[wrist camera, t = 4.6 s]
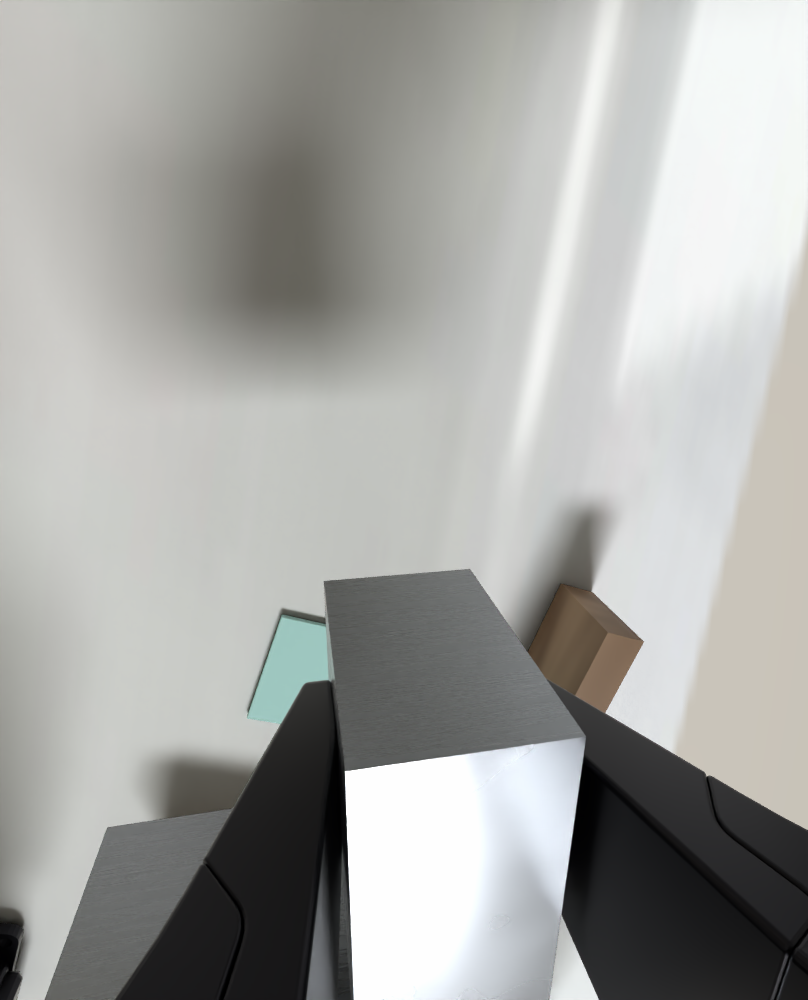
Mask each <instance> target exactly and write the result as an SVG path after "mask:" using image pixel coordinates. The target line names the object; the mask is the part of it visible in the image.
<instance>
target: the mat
mask: <svg viewBox="0 0 808 1000" xmlns="http://www.w3.org/2000/svg"><path fill="white" fill-rule="evenodd" d="M321 680H328V660H327V638H326V624H323V623H318V622H314V621H309V620H305V619H300V618H296V617H291V616H287V615H282V616H281V619H280V621H279V624H278V627H277V630H276V633H275V636H274V639H273V642H272V645H271V648H270V651H269V654H268V657H267V660H266V662H265V665H264V668H263V671H262V674H261V677H260V680H259V683H258V686H257V689H256V692H255V695H254V698H253V700H252V703H251V706H250V709H249V712H248V716H247V718H248V719H254V720H260V721H266V722H272V723H278V724H281V723H282V721H283V719H284V717H285V716H286V714H287V712H288V710H289V709H290V707H291V705H292V703H293V702H294V700H295V698H296V696H297V695H298V693H299V691H300V689H301V688H302V686H303V685H304V684H305V683H307V682H313V681H321Z"/></svg>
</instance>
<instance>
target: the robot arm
mask: <svg viewBox="0 0 808 1000" xmlns="http://www.w3.org/2000/svg"><path fill="white" fill-rule="evenodd" d="M547 681H548V682H549V684H550V685H551V687H552V688H553V690H554V691H555V692H556V694H557V695H558V697H559V698H560V700H561V701H562V702H563V704H564V705H565V707H566V708H567V710H568V711H569V713H570V714H571V715H572V717H573V718H574V720H575V721H576V723H577V724H578V726H579V727H580V728H581V730H582V731H583V733H584V734H585V736H586V741H585V749H584V756H583V763H582V770H581V777H580V784H579V791H578V798H577V805H576V813H575V820H574V827H573V834H572V841H571V848H570V855H569V862H568V869H567V877H566V884H565V891H564V898H563V905H562V912H561V915H562V917H563V919H564V922H565V924H566V926H567V928H568V931H569V933H570V935H571V937H572V940H573V942H574V944H575V946H576V949H577V951H578V953H579V955H580V958H581V960H582V962H583V964H584V967H585V969H586V971H587V974H588V976H589V978H590V980H591V983H592V985H593V987H594V989H595V992H596V994H597V996H598V998H599V1000H808V830H806V829H804V828H802V827H801V826H799V825H797V824H795V823H793V822H791V821H789V820H787V819H785V818H783V817H782V816H780V815H778V814H776V813H774V812H773V811H771V810H769V809H768V808H766V807H764V806H762V805H761V804H759V803H757V802H755V801H753V800H752V799H750V798H748V797H746V796H745V795H743V794H741V793H739V792H738V791H736V790H734V789H733V788H731V787H729V786H728V785H726V784H724V783H722V782H721V781H719V780H717V779H715V778H714V777H712V776H707V777H706V774H705V772H703V771H702V770H700V769H698V768H697V767H695V766H693V765H692V764H690V763H688V762H686V761H685V760H683V759H682V758H680V757H678V756H677V755H675V754H673V753H671V752H670V751H668V750H666V749H665V748H663V747H661V746H660V745H658V744H656V743H655V742H653V741H651V740H649V739H648V738H646V737H644V736H643V735H641V734H639V733H638V732H636V731H634V730H633V729H631V728H629V727H628V726H626V725H624V724H622V723H621V722H619V721H617V720H616V719H614V718H612V717H611V716H609V715H607V714H606V713H604V712H602V711H600V710H599V709H597V708H595V707H594V706H592V705H590V704H589V703H587V702H585V701H584V700H582V699H580V698H579V697H577V696H575V695H573V694H572V693H570V692H568V691H567V690H565V689H563V688H562V687H560V686H558V685H557V684H555V683H553V682H551V681H550V680H548V679H547ZM341 875H342V830H341V808H340V786H339V765H338V743H337V728H336V719H335V711H334V703H333V694H332V686H331V682H330V681H329V680H321V681H313V682H307V683H305V684H304V685H303V686H302V688H301V689H300V691H299V693H298V695H297V696H296V698H295V700H294V702H293V703H292V705H291V707H290V709H289V710H288V712H287V714H286V716H285V717H284V719H283V721H282V723H281V724H280V726H279V728H278V730H277V731H276V733H275V735H274V737H273V738H272V740H271V742H270V744H269V745H268V747H267V749H266V751H265V752H264V754H263V756H262V758H261V759H260V761H259V763H258V764H257V766H256V768H255V770H254V771H253V773H252V775H251V777H250V778H249V780H248V782H247V784H246V785H245V787H244V789H243V791H242V792H241V794H240V796H239V798H238V799H237V801H236V803H235V805H234V806H233V808H232V810H231V812H230V813H229V815H228V817H227V819H226V820H225V822H224V824H223V826H222V827H221V829H220V831H219V833H218V834H217V836H216V838H215V840H214V841H213V843H212V845H211V847H210V848H209V850H208V852H207V853H206V855H205V857H204V859H203V864H201V865H200V866H199V867H198V869H197V870H196V872H195V874H194V876H193V877H192V879H191V881H190V883H189V884H188V886H187V888H186V890H185V891H184V893H183V895H182V897H181V898H180V900H179V901H178V903H177V905H176V906H175V908H174V910H173V911H172V913H171V915H170V916H169V918H168V919H167V921H166V923H165V924H164V926H163V928H162V929H161V931H160V933H159V934H158V936H157V937H156V939H155V941H154V942H153V944H152V945H151V946H150V948H149V949H148V951H147V952H146V954H145V955H144V957H143V958H142V960H141V961H140V963H139V964H138V966H137V967H136V968H135V970H134V971H133V973H132V974H131V976H130V977H129V979H128V980H127V982H126V983H125V985H124V986H123V988H122V989H121V990H120V992H119V993H118V995H117V996H116V998H115V999H114V1000H337V999H338V968H339V937H340V906H341ZM22 937H23V929H22V928H21V927H20V926H19V925H16V924H9V923H0V1000H17V998H18V994H19V990H20V986H21V982H22V976H21V973H20V971H14V970H15V966H16V962H17V958H18V953H19V949H20V945H21V941H22Z"/></svg>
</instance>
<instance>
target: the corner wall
mask: <svg viewBox="0 0 808 1000" xmlns="http://www.w3.org/2000/svg"><path fill="white" fill-rule="evenodd" d="M643 642H644V641H643V640H642V639H640V638H639V637H638V636H637V635H636V634H635V633H634V632H633V631H632V630H631V629H630V628H629V627H628V626H627V625H626V624H625V623H624V622H623V621H622V620H621V619H620V618H619V617H618V616H617V615H616V614H614V613H613V612H612V611H611V610H610V609H609V608H608V607H607V606H606V605H605V604H604V603H603V602H602V601H601V600H600V599H599V598H598V597H597V596H596V595H595V594H594V593H593V592H590V591H586V590H583V589H579V588H576V587H572V586H568V585H565V584H560V586H559V588H558V591H557V593H556V595H555V597H554V599H553V601H552V603H551V605H550V607H549V609H548V611H547V613H546V615H545V617H544V619H543V621H542V624H541V626H540V628H539V630H538V632H537V634H536V636H535V638H534V640H533V642H532V644H531V646H530V648H529V650H528V653H529V655H530V656H531V658H532V659H533V661H534V662H535V664H536V665H537V666H538V668H539V669H540V671H541V672H542V674H543V675H544V677H545V678H546V679H548V680H550V681H551V682H553V683H555V684H557V685H558V686H560V687H562V688H563V689H565V690H567V691H568V692H570V693H572V694H573V695H575V696H577V697H579V698H580V699H582V700H584V701H585V702H587V703H589V704H590V705H592V706H594V707H595V708H597V709H599V710H600V711H602V712H604V713H605V712H606V710H607V708H608V707H609V705H610V703H611V701H612V699H613V697H614V696H615V694H616V692H617V690H618V688H619V686H620V685H621V683H622V681H623V679H624V677H625V675H626V674H627V672H628V670H629V668H630V666H631V664H632V663H633V661H634V659H635V657H636V655H637V653H638V652H639V650H640V648H641V646H642V644H643Z"/></svg>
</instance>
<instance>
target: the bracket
mask: <svg viewBox="0 0 808 1000" xmlns="http://www.w3.org/2000/svg"><path fill="white" fill-rule="evenodd" d="M324 596H325V617H326V638H327V660H328V680H329V681H330V682H331V686H332V694H333V703H334V711H335V719H336V728H337V743H338V765H339V786H340V808H341V830H342V875H341V906H340V937H339V968H338V999H337V1000H549V997H550V990H551V983H552V976H553V969H554V962H555V955H556V948H557V941H558V933H559V926H560V919H561V912H562V905H563V898H564V891H565V884H566V877H567V869H568V862H569V855H570V848H571V841H572V834H573V827H574V820H575V813H576V805H577V798H578V791H579V784H580V777H581V770H582V763H583V756H584V749H585V741H586V736H585V734H584V733H583V731H582V730H581V728H580V727H579V726H578V724H577V723H576V721H575V720H574V718H573V717H572V715H571V714H570V713H569V711H568V710H567V708H566V707H565V705H564V704H563V702H562V701H561V700H560V698H559V697H558V695H557V694H556V692H555V691H554V690H553V688H552V687H551V685H550V684H549V682H548V681H547V679H546V678H545V677H544V675H543V674H542V672H541V671H540V669H539V668H538V666H537V665H536V664H535V662H534V661H533V659H532V658H531V656H530V655H529V653H528V652H527V651H526V649H525V648H524V646H523V645H522V643H521V642H520V640H519V639H518V638H517V636H516V635H515V633H514V632H513V630H512V629H511V628H510V626H509V625H508V623H507V622H506V620H505V619H504V617H503V616H502V615H501V613H500V612H499V610H498V609H497V607H496V606H495V604H494V603H493V602H492V600H491V599H490V597H489V596H488V594H487V593H486V591H485V590H484V589H483V587H482V586H481V584H480V583H479V581H478V580H477V578H476V577H475V576H474V574H473V573H472V571H471V570H470V569H465V570H453V571H441V572H429V573H416V574H404V575H392V576H380V577H368V578H356V579H343V580H331V581H324ZM231 810H232V809H225V810H219V811H212V812H206V813H199V814H193V815H186V816H180V817H173V818H166V819H160V820H153V821H147V822H140V823H134V824H127V825H121V826H114V827H107V830H106V833H105V835H104V838H103V841H102V844H101V846H100V849H99V852H98V855H97V857H96V860H95V863H94V866H93V868H92V871H91V874H90V877H89V879H88V882H87V885H86V888H85V890H84V893H83V896H82V899H81V901H80V904H79V907H78V910H77V912H76V915H75V918H74V921H73V923H72V926H71V929H70V932H69V934H68V937H67V940H66V943H65V945H64V948H63V951H62V954H61V956H60V959H59V962H58V965H57V967H56V970H55V973H54V976H53V978H52V981H51V984H50V987H49V989H48V992H47V995H46V998H45V1000H114V999H115V998H116V996H117V995H118V993H119V992H120V990H121V989H122V988H123V986H124V985H125V983H126V982H127V980H128V979H129V977H130V976H131V974H132V973H133V971H134V970H135V968H136V967H137V966H138V964H139V963H140V961H141V960H142V958H143V957H144V955H145V954H146V952H147V951H148V949H149V948H150V946H151V945H152V944H153V942H154V941H155V939H156V937H157V936H158V934H159V933H160V931H161V929H162V928H163V926H164V924H165V923H166V921H167V919H168V918H169V916H170V915H171V913H172V911H173V910H174V908H175V906H176V905H177V903H178V901H179V900H180V898H181V897H182V895H183V893H184V891H185V890H186V888H187V886H188V884H189V883H190V881H191V879H192V877H193V876H194V874H195V872H196V870H197V869H198V867H199V866H200V865H201V864H203V859H204V857H205V855H206V853H207V852H208V850H209V848H210V847H211V845H212V843H213V841H214V840H215V838H216V836H217V834H218V833H219V831H220V829H221V827H222V826H223V824H224V822H225V820H226V819H227V817H228V815H229V813H230V812H231Z"/></svg>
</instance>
